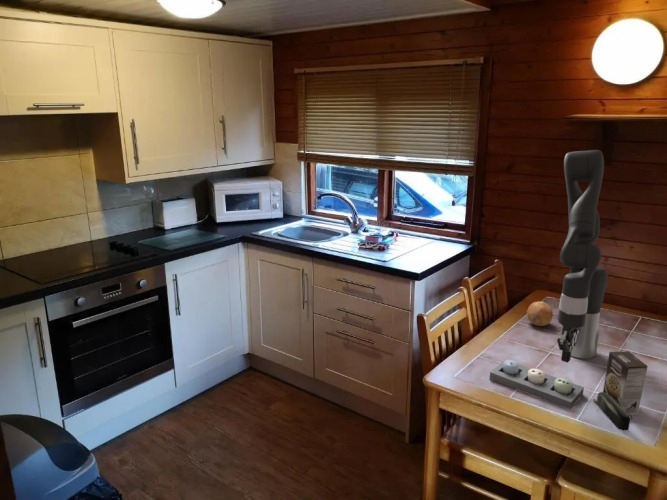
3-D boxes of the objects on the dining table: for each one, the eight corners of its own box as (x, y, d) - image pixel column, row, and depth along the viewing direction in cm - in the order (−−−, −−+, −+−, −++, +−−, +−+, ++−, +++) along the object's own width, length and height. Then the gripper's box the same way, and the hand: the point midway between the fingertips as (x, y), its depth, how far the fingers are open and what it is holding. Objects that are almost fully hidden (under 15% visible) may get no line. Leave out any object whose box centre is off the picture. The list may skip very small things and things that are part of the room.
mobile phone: (633, 417, 145) (602, 386, 159) (623, 417, 144) (592, 387, 159) (630, 432, 146) (599, 400, 160) (620, 432, 146) (590, 401, 160)
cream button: (524, 381, 168) (525, 372, 167) (531, 375, 171) (532, 366, 170) (540, 386, 164) (541, 377, 163) (546, 380, 168) (547, 371, 167)
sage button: (551, 390, 162) (552, 381, 161) (557, 384, 166) (558, 375, 165) (567, 396, 159) (569, 387, 158) (573, 390, 162) (574, 381, 161)
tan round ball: (553, 323, 214) (556, 300, 211) (548, 332, 206) (551, 308, 203) (529, 317, 219) (531, 295, 216) (523, 326, 211) (525, 303, 208)
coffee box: (600, 398, 162) (608, 351, 157) (620, 396, 162) (628, 350, 157) (618, 415, 153) (627, 366, 148) (639, 414, 154) (648, 365, 149)
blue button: (499, 372, 173) (500, 363, 172) (506, 366, 177) (507, 357, 176) (514, 377, 170) (515, 368, 169) (520, 371, 173) (521, 362, 173)
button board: (489, 378, 173) (490, 372, 172) (504, 366, 181) (505, 359, 180) (570, 409, 156) (571, 402, 155) (582, 394, 164) (583, 387, 163)
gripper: (568, 299, 161) (561, 349, 166) (551, 311, 152) (544, 364, 157) (593, 305, 156) (585, 357, 161) (578, 318, 147) (570, 373, 152)
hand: (565, 360), depth 159 cm, fingers closed
